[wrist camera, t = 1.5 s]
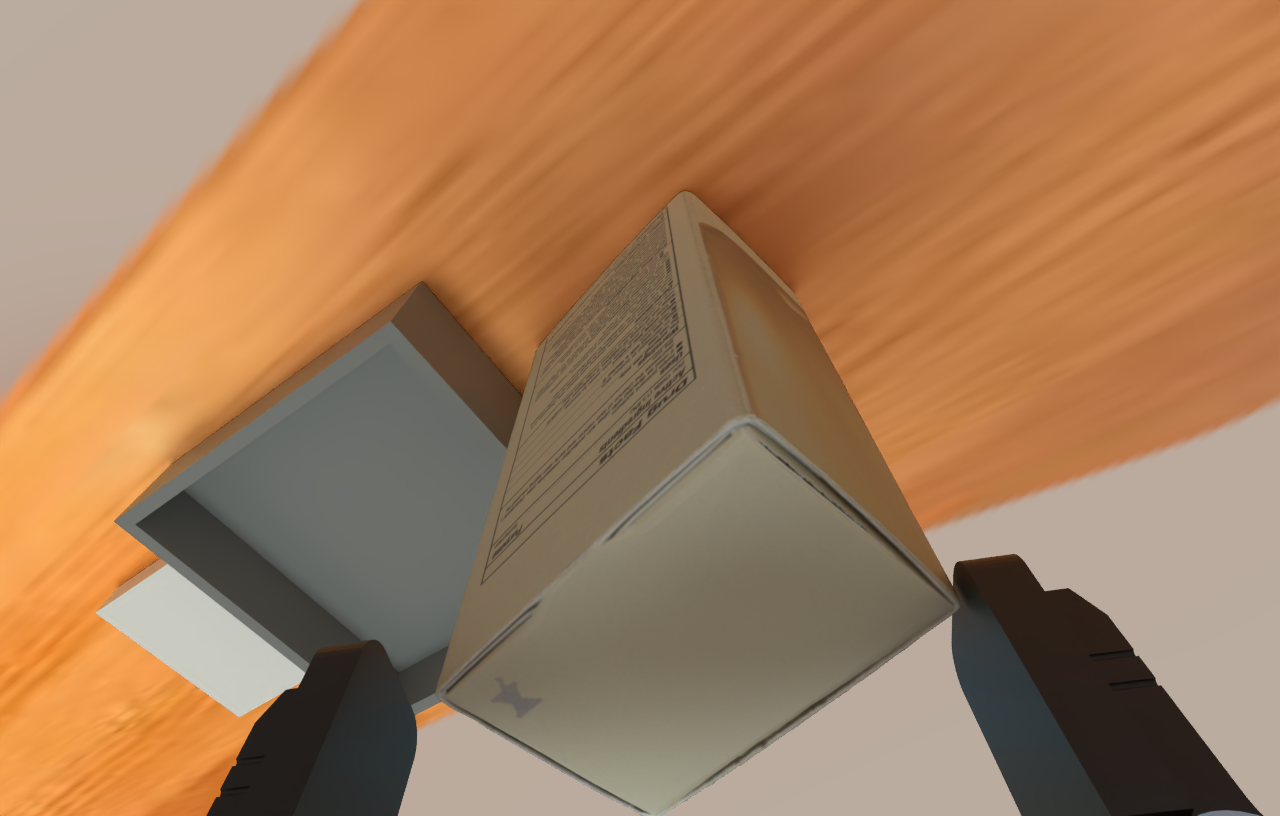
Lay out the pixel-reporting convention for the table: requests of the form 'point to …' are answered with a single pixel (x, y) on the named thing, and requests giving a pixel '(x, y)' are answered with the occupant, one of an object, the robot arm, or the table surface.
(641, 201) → the table surface
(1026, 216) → the table surface
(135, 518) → the grey open tray
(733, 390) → the skincare box
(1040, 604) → the robot arm
